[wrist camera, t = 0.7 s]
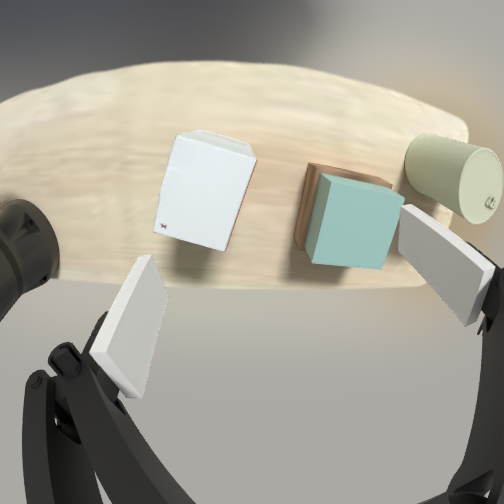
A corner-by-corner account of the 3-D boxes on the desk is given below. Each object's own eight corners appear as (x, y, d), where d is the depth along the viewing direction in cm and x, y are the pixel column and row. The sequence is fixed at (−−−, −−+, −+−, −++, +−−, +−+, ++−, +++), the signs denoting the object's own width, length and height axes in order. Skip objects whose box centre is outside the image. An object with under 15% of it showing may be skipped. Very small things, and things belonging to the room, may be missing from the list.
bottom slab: (293, 235, 36) (299, 249, 33) (308, 161, 32) (316, 168, 28) (359, 243, 37) (370, 257, 34) (378, 176, 33) (392, 184, 29)
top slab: (304, 246, 33) (311, 263, 29) (320, 173, 28) (331, 181, 25) (368, 253, 33) (381, 269, 30) (388, 187, 29) (405, 198, 26)
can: (430, 205, 34) (481, 240, 24) (393, 171, 32) (448, 199, 21) (458, 158, 31) (513, 181, 20) (423, 119, 28) (484, 131, 18)
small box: (230, 204, 34) (225, 255, 22) (181, 190, 32) (149, 233, 21) (251, 142, 30) (258, 158, 19) (199, 127, 29) (173, 133, 17)
